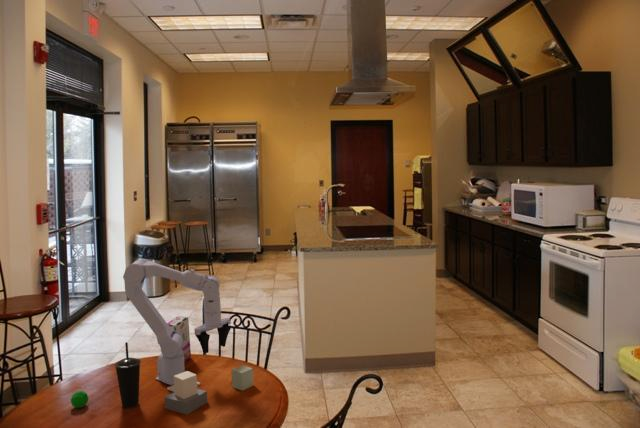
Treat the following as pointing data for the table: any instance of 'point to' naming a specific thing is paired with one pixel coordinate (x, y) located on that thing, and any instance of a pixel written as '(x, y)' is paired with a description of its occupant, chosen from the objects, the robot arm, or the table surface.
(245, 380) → the sage block
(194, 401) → the gray block
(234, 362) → the table surface
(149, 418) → the table surface
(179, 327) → the candy bar box
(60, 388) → the table surface
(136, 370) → the drinking cup
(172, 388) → the tile
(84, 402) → the green ball
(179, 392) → the cream block
